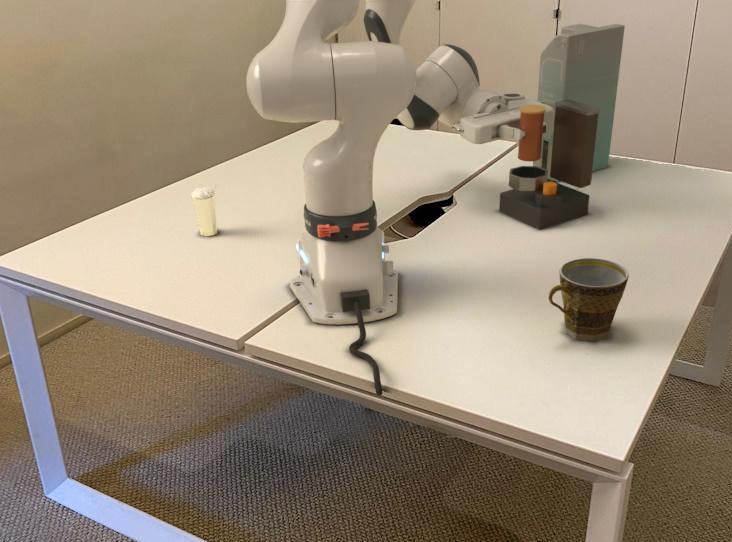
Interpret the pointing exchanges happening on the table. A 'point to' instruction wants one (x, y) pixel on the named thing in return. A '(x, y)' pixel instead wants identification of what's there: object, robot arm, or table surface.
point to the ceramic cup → (590, 296)
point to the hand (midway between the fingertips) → (534, 132)
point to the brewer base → (544, 205)
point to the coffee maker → (565, 149)
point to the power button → (549, 188)
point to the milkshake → (205, 210)
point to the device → (582, 81)
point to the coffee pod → (531, 132)
